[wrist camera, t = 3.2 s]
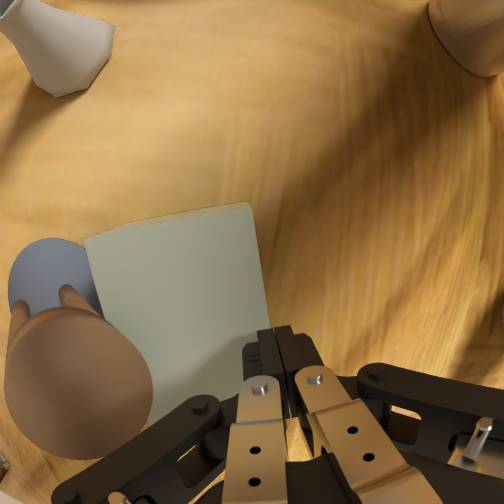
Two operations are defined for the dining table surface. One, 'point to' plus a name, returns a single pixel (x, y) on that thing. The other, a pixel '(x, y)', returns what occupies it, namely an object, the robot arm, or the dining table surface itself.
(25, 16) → the flask
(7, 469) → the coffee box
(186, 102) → the dining table surface
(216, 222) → the box
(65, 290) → the stool
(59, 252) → the mat
